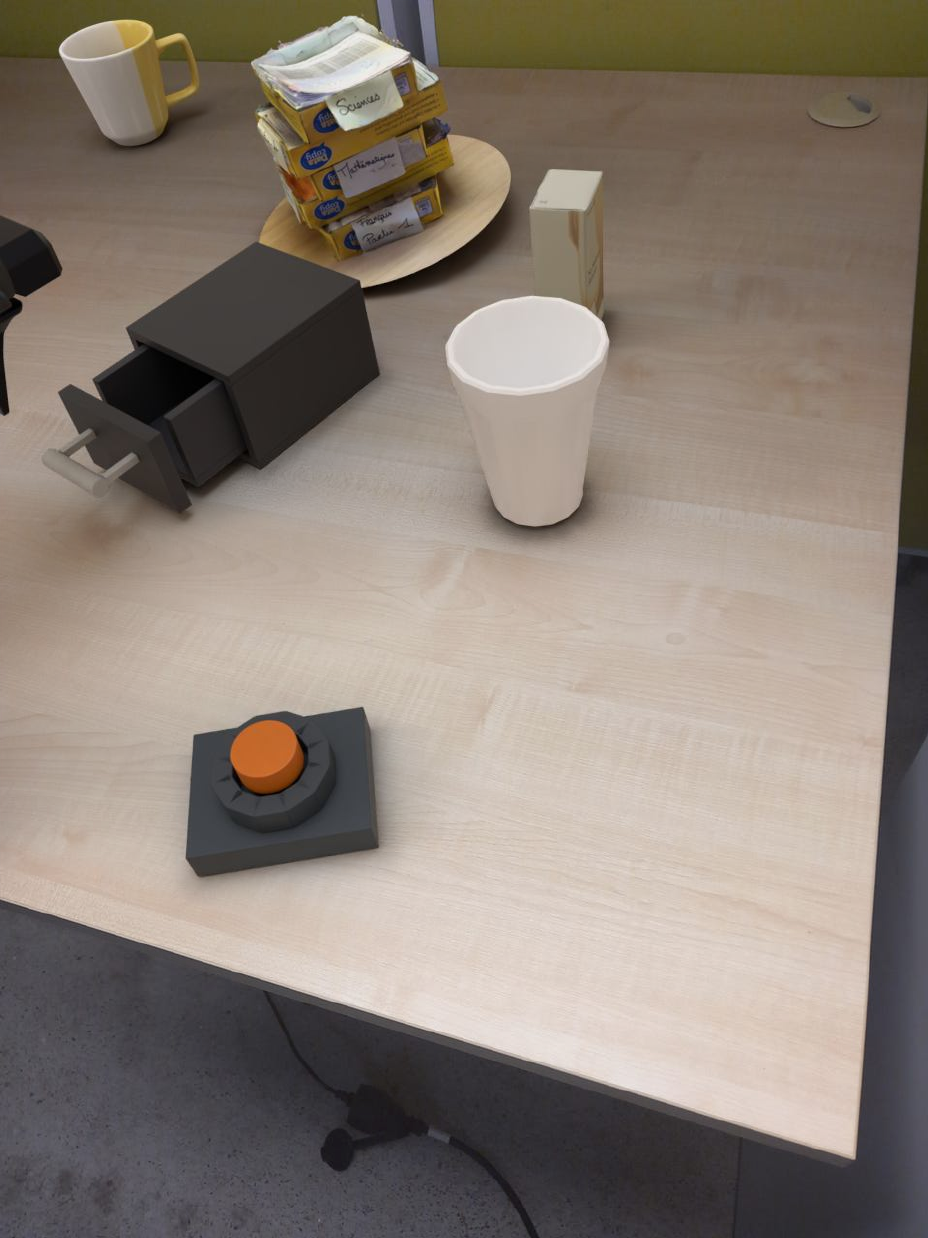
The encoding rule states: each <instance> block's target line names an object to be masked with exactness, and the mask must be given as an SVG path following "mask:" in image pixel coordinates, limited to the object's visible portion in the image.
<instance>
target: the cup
mask: <svg viewBox="0 0 928 1238" xmlns="http://www.w3.org/2000/svg"><path fill="white" fill-rule="evenodd" d="M444 348H445V356H446V365H447V366H446V367H447V369H448V372H449V376H450V380H451V383H452V387H453V390H455V392H456V394H457V395H458V398H459V402H460V404H461V407H462V410H463V413H464V416H465V419H466V422H467V425H468V428H469V433H470V434H471V437H472V441H473V443H474V447H475V450H476V453H477V456H478V459H479V462H480V465H481V468H482V471H483V474H484V477H485V481H486V483H487V486H488V489H489V493H490V495H491V498H492V501H493V504H494V508H495V509H496V510H497V511H498V512H499V514H500V515H501V516H502V517H503V518H505V519H507V520H508V521H511V522H512V523H514V524H516V525H519V526H521V525H522V526H528V527H542V526H549V525H554V524H556V523H559V522H560V521H563V520H565V519H567V518H569V517H570V516H571V515H572V514H573V513H574V512H575V511H577V509H578V508H579V507H580V504H581V502H582V499H583V496H584V490H583V489H584V482H585V475H586V470H587V469H586V468H587V462H588V455H589V448H590V441H591V434H592V428H593V423H594V422H593V421H594V415H595V408H596V400H597V395H598V389H599V387H600V386H601V382H602V379H603V376H604V373H605V371H606V367H607V365H608V364H607V363H608V358H609V357H608V356H609V348H610V338H609V335H608V332H607V329H606V325H605V323H604V322H603V320H600V319H599V318H598V317H596V316H595V315H594V314H593V313H592V312H591V311H589V310H588V309H587V308H586V307H584V306H581V305H579V304H576V303H573V302H570V301H567V300H565V299H562V298H553V297H540V296H535V295H528V296H527V295H526V296H520V297H515V298H507V299H502V300H499V301H496V302H494V303H492V304H489V305H486V306H484V307H481V308H479V309H478V308H477V309H476V310H474V311H473V312H472V313H470V315H468V316H467V317H465V318H464V319H463V320H461V322H459V323H457V324H456V325H455V327H454V329H453V331H452V332H451V333H450V336H449V337H448V340H447V341H446V344H445V345H444Z"/></svg>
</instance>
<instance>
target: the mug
mask: <svg viewBox="0 0 928 1238" xmlns="http://www.w3.org/2000/svg"><path fill="white" fill-rule="evenodd" d="M178 44H179V45H181V46H182V49H183V51H184V54H185V58H186V61H187V64H188V67H189V68H188V69H189V71H190V77H191V83H190V85H189V86H187V87H185V88H184V89H181V90H180V91H176V92H173V93H170V94H167V95H166V91H165V87H164V82H163V77H162V70H161V63H160V57H161V55H162V54H163V52H164V51H165V50H166V49H167V48H169V47H172V46H176V45H178ZM58 53H59V56H60V58H61V59H62V61H63V63H64V65H65V67H66V69H67V71H68V73H69V74H70V76H71V78H72V80H73V82H74V83H75V86H76V87H77V89H78V91H79V92H80V94H81V96H82V99H83V100H84V102H85V103H86V106H87V107H88V109H89V111H90V113H91V114H92V116H93V118H94V120H95V122H96V123H97V125H98V127H99V129H100V131H101V133H102V134H103V135H104V136H105V137H106V138H108V139H109V140H111V141H113V142H114V143H116V144H118V145H120V146H123V147H137V146H142V145H145V144H148V143H150V142H152V141H155V140H156V139H158V138H159V137H160V136H161V135H162V134H163V133H164V131H165V128H166V126H167V122H168V120H169V108H170V107H171V108H172V107H173V106H175V105H177V104H179V103H181V102H183V101H185V100H187V99H189V98H191V97H193V96H194V95H196V94H197V93H198V92H199V90H200V88H201V87H200V86H201V82H200V75H199V69H198V66H197V62H196V59H195V56H194V52H193V50H192V48H191V45H190V43H189V40H188V38H187V37H186V36H185V35H184V33H181V32H178V33H174V34H171V35H167V36H165V37H161V38H159V39H156V35H155V30H154V28H153V26H152V25H151V24H149V23H147V22H145V21H141V20H136V19H118V20H117V19H116V20H110V21H109V20H108V21H103V22H99V23H95V24H93V25H90V26H87V27H84V28H82V29H80V30H78V31H77V32H76V31H75V32H74V33H72V34H71V35H70V36H68V37H66V38H65V40H63V41H62V42H61V44H60V45H59V48H58Z"/></svg>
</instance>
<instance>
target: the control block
mask: <svg viewBox="0 0 928 1238" xmlns="http://www.w3.org/2000/svg"><path fill="white" fill-rule="evenodd" d="M266 720H273V721H279V722H282V723H284V724H286V725H288V726H289V727H290V728H291V729H292V730H293V731H294V733H295V735H296V738H297V740H298V742H299V745H300V747H301V749H302V752H303V755H304V764H303V768H302V771H301V773H300V775H299V776H298V778H297V779H296V780H295V781H294V782H293V783H292V784H291V785H290V786H288V787H287V788H285V789H283V790H281V791H278V792H275V793H270V794H261V793H256V792H253V791H251V790H249V789H248V788H247V787H245V786H244V784H243V783H242V781H241V780H240V778H239V776H238V774H237V772H236V770H235V768H234V767H233V765H232V762H231V758H230V753H231V747H232V745H233V742H234V740H235V739H236V737H237V736H238V735H239V734H240V733H241V732H242V731H243V730H244V729H245V728H247V727H248V726H250V725H252V724H254V723H257V722H261V721H266ZM192 737H193V738H192V752H191V753H192V754H191V766H190V767H191V768H190V770H191V771H190V785H189V799H188V800H189V801H188V813H187V815H188V817H187V831H186V847H185V860H186V862H187V863H188V864H189V866H190V867H191V868H192V870H193V872H194V873H195V874H196V876H197V877H198V878H201V877H206V876H213V875H219V874H224V873H226V874H227V873H231V872H237V871H243V870H250V869H256V868H262V867H269V866H274V865H281V864H285V863H292V862H299V861H305V860H312V859H317V858H322V857H328V856H329V857H330V856H335V855H340V854H347V853H352V852H353V853H354V852H359V851H365V850H371V849H377V848H378V849H379V847H380V846H379V845H380V843H379V832H378V818H377V804H376V803H377V802H376V792H375V791H376V790H375V789H376V788H375V775H374V763H373V762H374V761H373V750H372V749H373V748H372V738H371V737H372V736H371V725H370V723H369V720H368V717H367V714H366V711H365V708H364V706H360V707H359V706H358V707H353V708H346V709H340V710H335V711H328V712H323V713H322V712H321V713H317V714H309V715H300V714H297V713H294V712H291V711H287V710H281V711H277V712H276V711H275V712H269V713H264V714H258V715H254V716H252V717H251V718H250V719H248V720H246V721H245V722H243V723H242V724H240V725H239V726H236V727H232V728H226V729H220V730H212V731H207V732H202V733H196V734H195V733H194V734H193V736H192Z"/></svg>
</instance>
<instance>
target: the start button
mask: <svg viewBox="0 0 928 1238" xmlns="http://www.w3.org/2000/svg"><path fill="white" fill-rule="evenodd" d="M230 758H231V762H232V765H233V767H234V768H235V770H236V772H237V774H238V776H239V778H240V780H241V781H242V783H243V784H244V786H245V787H247V788H248V789H249V790H251V791H253V792H256V793H261V794H270V793H275V792H278V791H281V790H283V789H285V788H287V787H288V786H290V785H291V784H292V783H293V782H294V781H295V780H296V779H297V778H298V776H299V775H300V773H301V771H302V768H303V764H304V755H303V752H302V749H301V747H300V745H299V742H298V740H297V738H296V735H295V733H294V731H293V730H292V729H291V728H290V727H289V726H288V725H286V724H284V723H282V722H279V721H273V720H266V721H261V722H257V723H254V724H252V725H250V726H248V727H247V728H245V729H244V730H243V731H242V732H241V733H240V734H239V735H238V736H237V737H236V739H235V740H234V742H233V745H232V747H231V753H230Z"/></svg>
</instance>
